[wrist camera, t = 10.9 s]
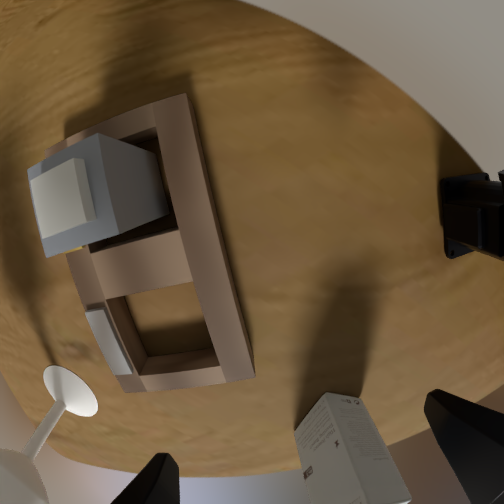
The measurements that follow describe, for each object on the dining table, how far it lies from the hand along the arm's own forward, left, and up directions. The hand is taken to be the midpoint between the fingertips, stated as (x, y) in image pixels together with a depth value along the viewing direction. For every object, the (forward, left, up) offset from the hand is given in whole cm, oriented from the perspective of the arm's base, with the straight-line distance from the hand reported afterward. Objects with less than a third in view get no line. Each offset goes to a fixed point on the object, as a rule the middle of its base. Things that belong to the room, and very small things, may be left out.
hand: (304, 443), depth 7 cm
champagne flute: (+21, +6, -12) cm, 25 cm away
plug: (+7, -9, -12) cm, 17 cm away
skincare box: (-3, +13, -12) cm, 18 cm away
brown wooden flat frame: (+7, -5, -12) cm, 15 cm away
